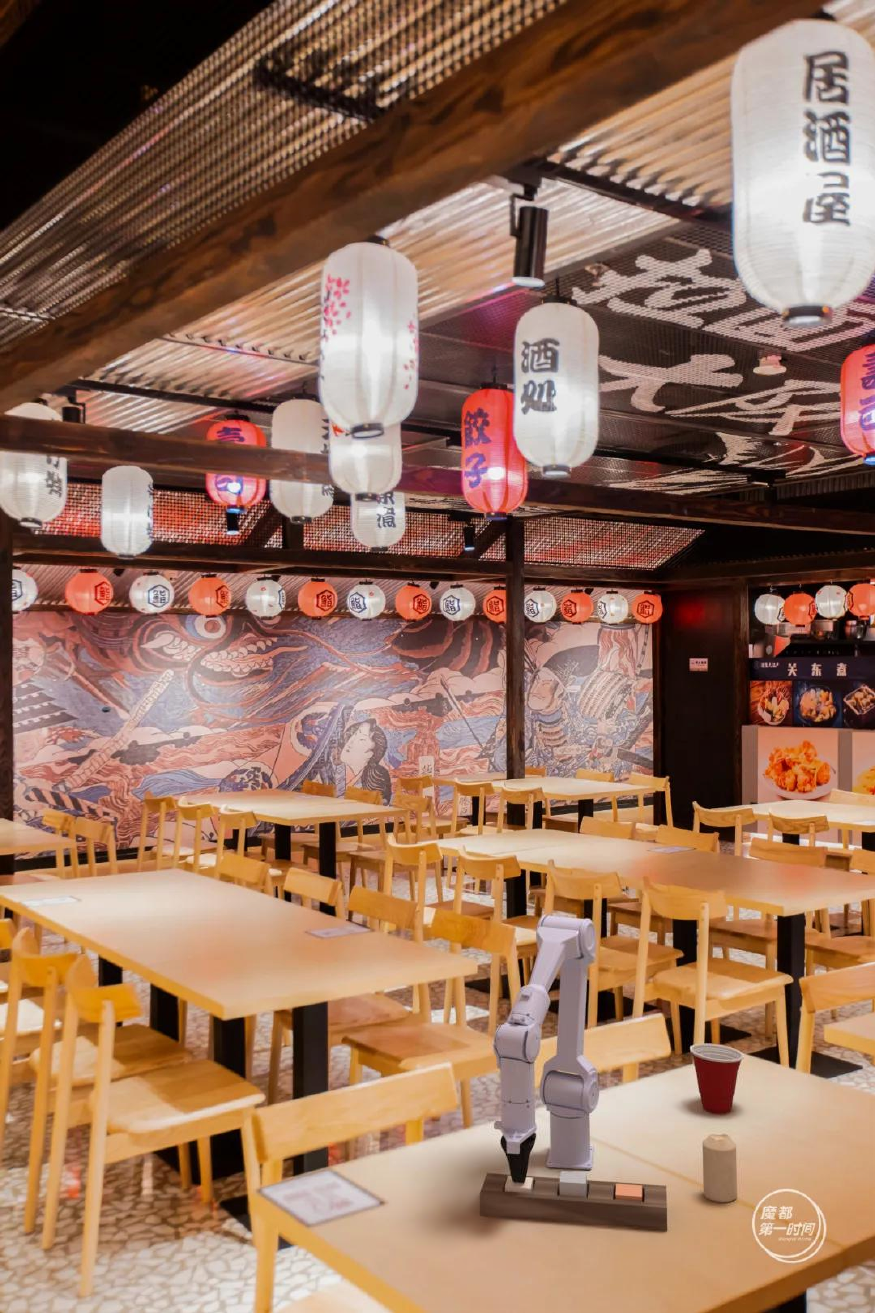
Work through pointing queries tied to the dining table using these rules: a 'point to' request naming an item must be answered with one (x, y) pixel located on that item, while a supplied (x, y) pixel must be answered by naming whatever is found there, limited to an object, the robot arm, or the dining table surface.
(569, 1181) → the light gray cube
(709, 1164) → the candle
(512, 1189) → the beige cube
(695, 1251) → the dining table surface
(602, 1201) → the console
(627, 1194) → the orange cube
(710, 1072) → the plastic cup
